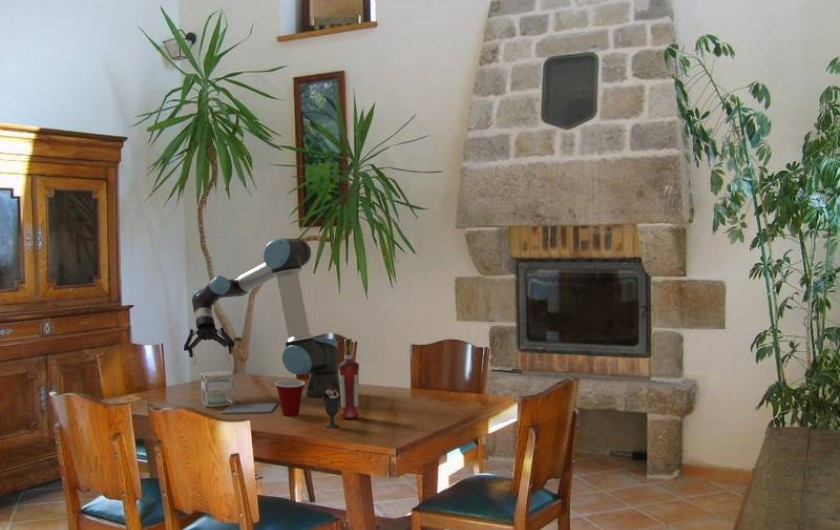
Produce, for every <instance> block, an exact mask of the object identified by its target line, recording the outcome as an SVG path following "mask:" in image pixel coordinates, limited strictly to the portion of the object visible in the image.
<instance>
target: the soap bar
mask: <svg viewBox="0 0 840 530" xmlns="http://www.w3.org/2000/svg"><path fill="white" fill-rule="evenodd" d="M208 399H209V400H210V402H209V405H215V404H226V403H227V401H226V399H227V392H224V391H213V392H209V393H208Z"/></svg>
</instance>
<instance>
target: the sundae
mask: <svg viewBox="0 0 840 530" xmlns="http://www.w3.org/2000/svg"><path fill="white" fill-rule="evenodd" d="M335 383H336V382H334V384H333V385H334V387H335ZM333 385H332V386H333ZM336 390H337V389H336V388H332V387H330V388H329V389H328V390H327V391H326V393H325V392H324V393H323V394H322V395H323V397H321V399H323V403H324V409H325V413H326V415H327V416H329V418H330V422H329V424H328V425H327V424H326V425H325V426H324V427H325V428H326V429H338V428H340V425H338V424H336V423H335V416H336V415H337V414H338V413H339V405H340V400H341V396H340V395H339V393H338V392H337V391H336ZM337 427H338V428H337Z"/></svg>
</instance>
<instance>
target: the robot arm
mask: <svg viewBox="0 0 840 530" xmlns="http://www.w3.org/2000/svg"><path fill="white" fill-rule="evenodd" d="M262 255H263V261H264V262H263V263H261V264H259V265H256V267H253V268H252V269H249V270H248V271H246V272H244V273H242V274H240V275H238V276H236V277H235V278H232V279H228V278H227V277H225V276H222V275H217V276H214V278H212V279H211V280H210V281H209V283H208V284H207V285H206V286H205V287H204V288H198V289H196V290H194V291H193V292H192V294H191V304H192V309H193V314H194V320H195V326H196V330H194V329H193V328H190V330H189V335H188V336H187V338H186V341H185V342H184V346H183V351H184V352H185V351H187V353H188V355H189V358H192V362H193V363H192V364H193V366H194V365H197V358H196V351H195V348H196V346H197V345H199V343H201V342H202V340H203V341H207V340H208V341H211V340H213V341H214V342H215V341H216V342H217V343H218V344H220V345H221V346H222V347H224V348H225V350H224V351H225V355H226V361H227V363H230V362H231V356H230V355H232V349H233V348H234V347H235V341H234V340H233V339H232V338H231V337H230V336H229V334H228V333H227V332H226V331H225V328H224V327H220V328H219V329H217V327H216V323H215V318H214V313H213V311H214V310H213V306H214V305H215V304H216V303H217V302H218V301H219V300H220V299H222V298H223V299H224V298H234V297H235V298H236V297H243V296H246V295H248V294H249V292H250V291H251V290H253V289H255V288H257V287H258V286H261V285H263V284H265V283H266V282H268V281H271V280H272V279H274V278H276V280H277V284H278V290H279V295H280V301H281V306H282V311H283V318H284V321H285V322H284V323H285V329H286V333H287V339H286V340H285V343H284V344H285V348H284V350H283V352H282V355H281V360H282V363H283V366H284V367H285V369H286V370H287V371H288V372H289V373H291V374H293V375H303V374H305V375H306V374H308V373H309V377H308V380H307V384H306V386H305V395H306V396H307V397H313V398H322V397H323V395H322V394H323V393H324V392H325V393H326V391H327V390H328V389H329V388H330V387H332V388H336V389H337V390H336V391H337V392H338V393H339V396H340V383H339V369H338V365H339V360H338V357H339V356H338V351H339V350H338V349H339V348H338V342H337V340H336V339H335V338H326V337H325V338H322V337H315V336H314V335H313V334H311V333H310V328H309V325H308V324H309V323H308V318H307V311H306V308H305V303H304V297H303V291H302V286H301V281H300V272H301V271H302V267H304V266H305V265H306V264H308V263H309V262H310V259H311V256H312V249H311V246H310V245H309V243H308V242H307V241H305V240H304V239H302V238H282V237H281V238H275V239H271V241H269V242H268V243H267V244H266V246H265V247H264V250H263V254H262ZM195 335H196V337H195ZM193 337H195V339H194V340H193ZM192 340H193V341H192ZM191 342H192V343H191ZM334 382H336V383H335V387H334V385H333V384H334ZM332 385H333V386H332Z"/></svg>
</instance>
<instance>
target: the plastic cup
mask: <svg viewBox="0 0 840 530" xmlns="http://www.w3.org/2000/svg"><path fill="white" fill-rule="evenodd" d="M274 385H275V386H276V390H277V393H278V397H279V404H280V409H281V414H282V415H283V416H285V417H292V416H293V417H294V416H298V415H299V413H300V408H301V403H302V397H303V395H302V394H303V392H304V391H303V389H304V386H305V385H306V382H305V381H304V380H300V379H282V380H278V381H275V382H274Z"/></svg>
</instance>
